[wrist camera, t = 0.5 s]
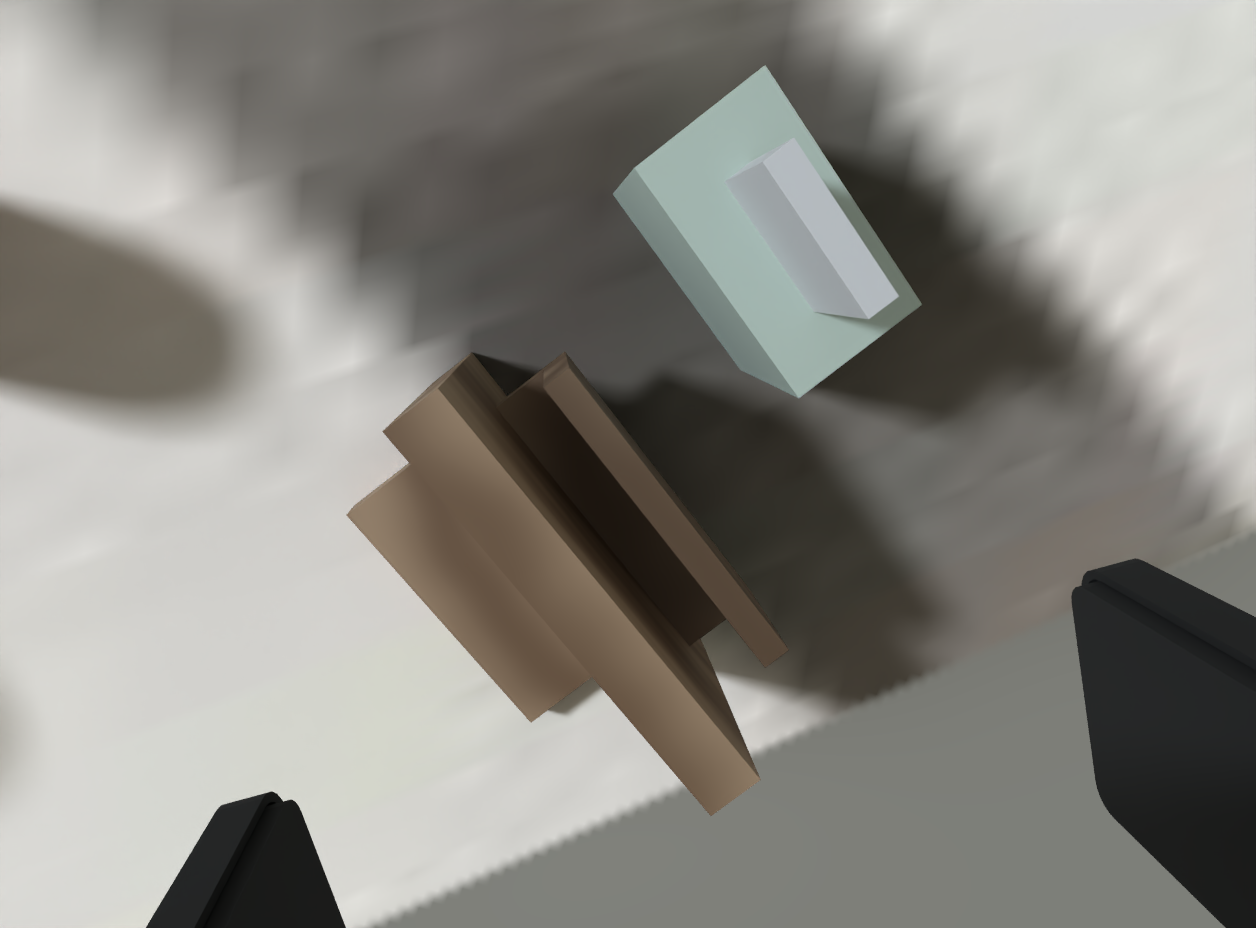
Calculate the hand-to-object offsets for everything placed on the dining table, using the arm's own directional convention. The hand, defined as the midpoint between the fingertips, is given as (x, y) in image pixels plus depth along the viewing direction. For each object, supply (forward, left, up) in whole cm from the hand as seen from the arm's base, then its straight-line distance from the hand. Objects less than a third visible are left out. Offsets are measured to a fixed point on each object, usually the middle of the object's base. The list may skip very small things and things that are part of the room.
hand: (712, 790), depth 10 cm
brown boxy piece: (+5, +3, -28) cm, 29 cm away
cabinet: (-9, -2, -28) cm, 30 cm away
